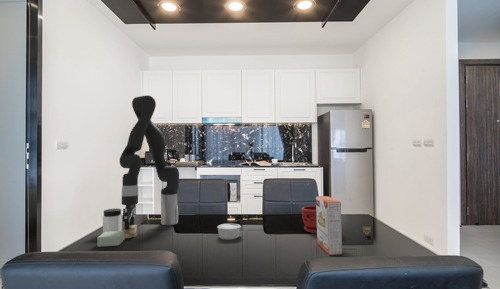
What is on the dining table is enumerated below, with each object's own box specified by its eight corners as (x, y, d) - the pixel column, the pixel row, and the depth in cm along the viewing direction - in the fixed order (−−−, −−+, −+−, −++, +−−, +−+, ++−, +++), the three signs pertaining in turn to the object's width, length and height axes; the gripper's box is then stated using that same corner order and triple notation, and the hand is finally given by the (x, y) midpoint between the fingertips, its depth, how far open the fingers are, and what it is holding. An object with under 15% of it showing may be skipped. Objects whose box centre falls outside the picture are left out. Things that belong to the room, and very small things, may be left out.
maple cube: (137, 234, 142) (137, 224, 142) (134, 237, 137) (134, 227, 137) (126, 235, 141) (126, 225, 141) (123, 238, 136) (123, 227, 136)
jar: (103, 236, 139) (103, 212, 139) (101, 233, 145) (101, 209, 146) (123, 233, 144) (123, 210, 144) (120, 230, 150) (120, 207, 151)
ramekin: (244, 234, 139) (244, 224, 139) (235, 241, 129) (235, 229, 129) (223, 232, 143) (223, 222, 143) (213, 239, 132) (213, 228, 132)
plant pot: (330, 229, 147) (329, 205, 147) (325, 235, 135) (325, 210, 135) (305, 226, 152) (305, 204, 153) (299, 232, 140) (298, 208, 141)
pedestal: (124, 239, 134) (124, 230, 134) (119, 245, 125) (119, 236, 126) (104, 240, 133) (104, 231, 133) (97, 246, 124) (97, 237, 124)
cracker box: (316, 244, 123) (315, 196, 124) (329, 243, 123) (328, 195, 124) (327, 255, 109) (326, 201, 110) (342, 255, 110) (341, 201, 110)
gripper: (134, 196, 133) (133, 230, 132) (141, 192, 147) (140, 224, 146) (117, 196, 132) (116, 231, 131) (126, 192, 146) (125, 224, 145)
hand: (129, 227), depth 139 cm, fingers open, 8 cm apart
